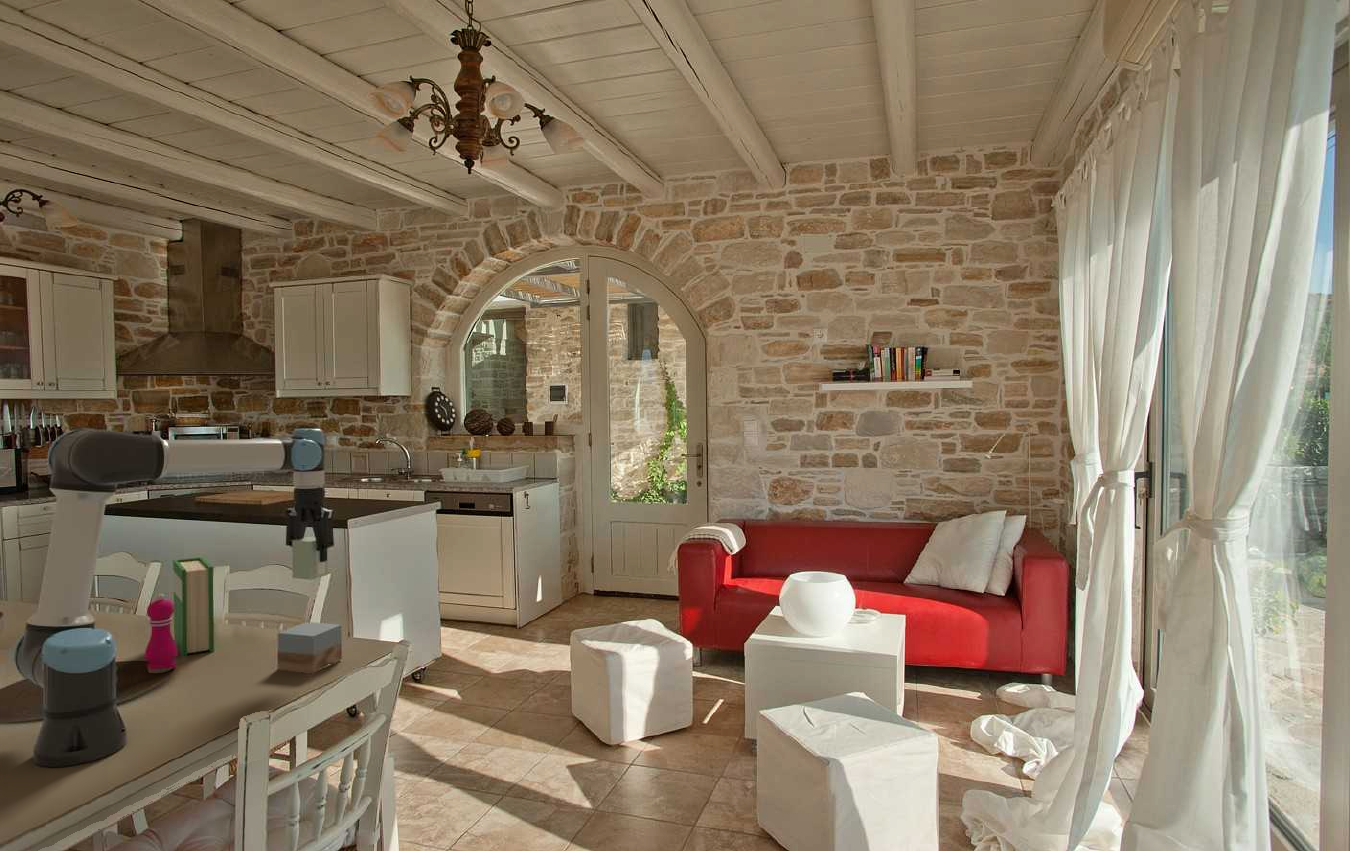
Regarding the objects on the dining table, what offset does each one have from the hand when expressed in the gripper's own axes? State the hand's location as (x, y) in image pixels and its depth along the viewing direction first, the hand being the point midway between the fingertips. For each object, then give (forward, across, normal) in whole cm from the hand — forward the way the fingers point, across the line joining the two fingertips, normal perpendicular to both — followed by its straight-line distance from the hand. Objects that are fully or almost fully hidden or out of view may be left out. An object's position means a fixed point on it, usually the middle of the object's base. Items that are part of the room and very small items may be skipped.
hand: (310, 573), depth 212 cm
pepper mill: (+25, +34, +15) cm, 45 cm away
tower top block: (+20, 0, 0) cm, 20 cm away
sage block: (+1, 0, 0) cm, 1 cm away
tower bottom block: (+25, 0, 0) cm, 25 cm away
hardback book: (+25, +43, -3) cm, 50 cm away
